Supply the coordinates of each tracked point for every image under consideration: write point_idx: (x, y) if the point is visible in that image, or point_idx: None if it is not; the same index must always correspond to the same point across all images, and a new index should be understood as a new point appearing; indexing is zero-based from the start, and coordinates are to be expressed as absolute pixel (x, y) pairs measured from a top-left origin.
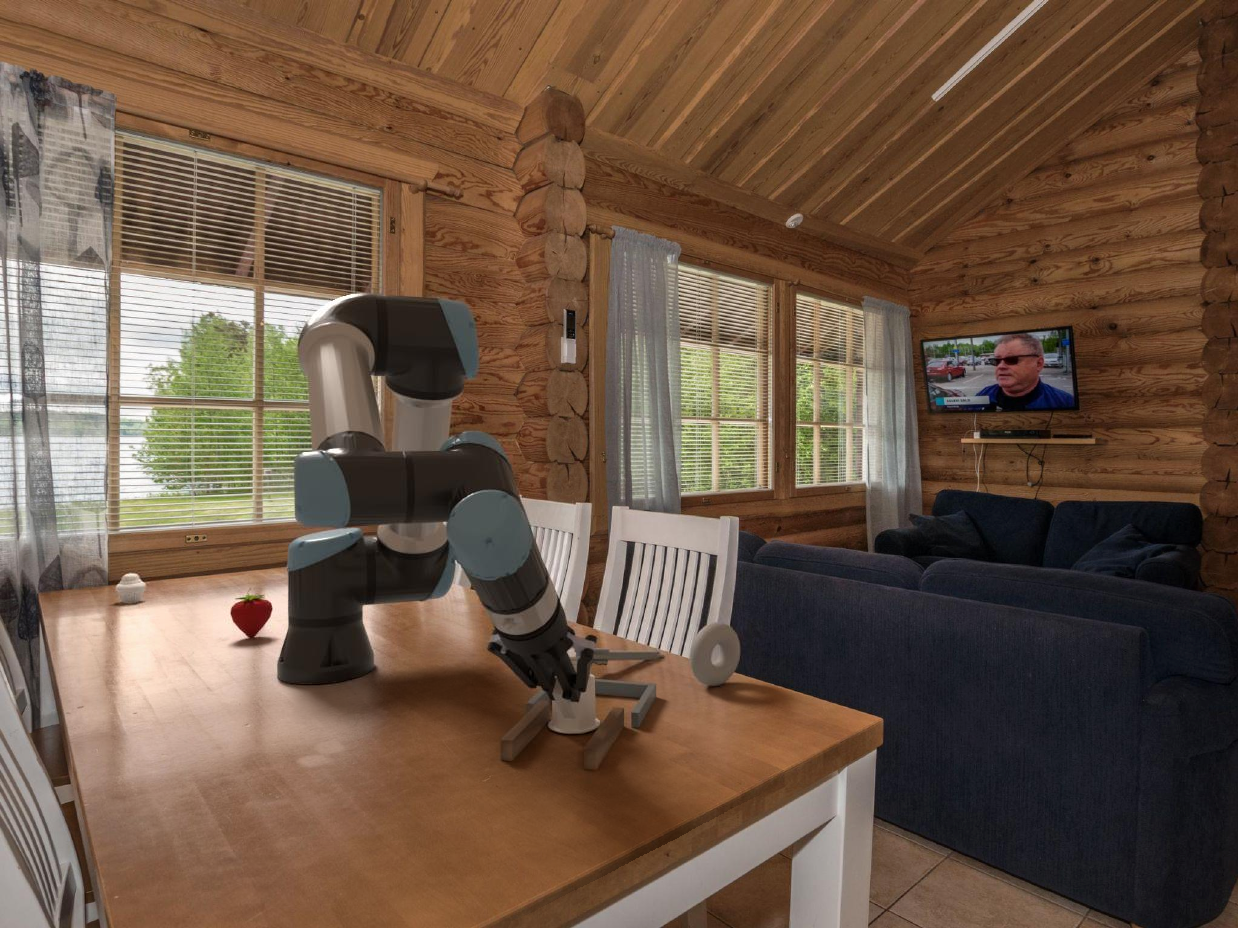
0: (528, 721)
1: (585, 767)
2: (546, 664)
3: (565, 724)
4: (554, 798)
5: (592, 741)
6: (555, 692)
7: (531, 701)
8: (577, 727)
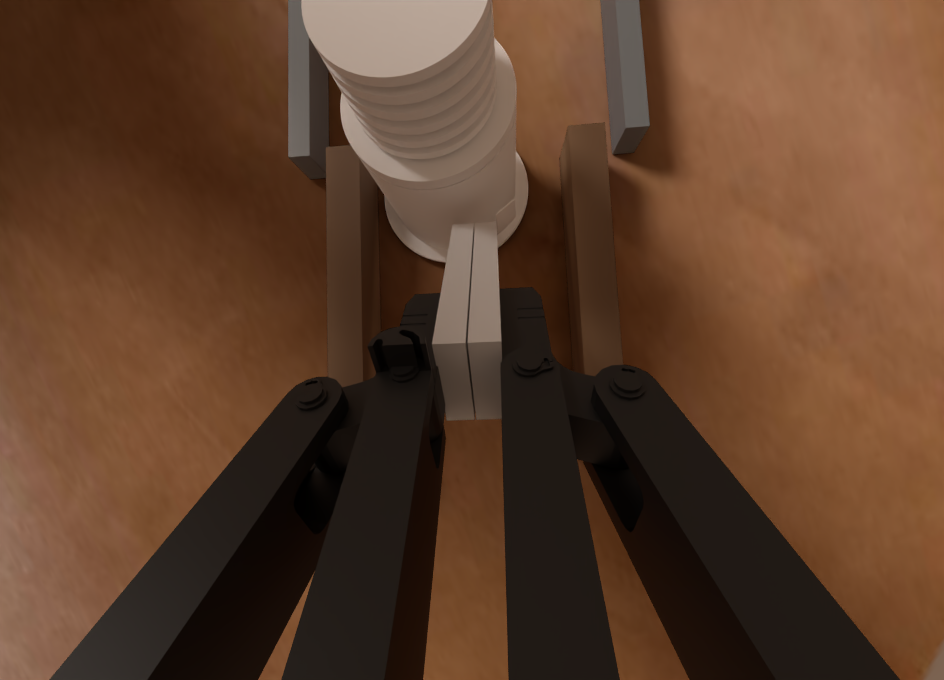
0: (355, 318)
1: None
2: (414, 604)
3: (448, 243)
4: None
5: None
6: (458, 414)
7: (298, 141)
8: None
